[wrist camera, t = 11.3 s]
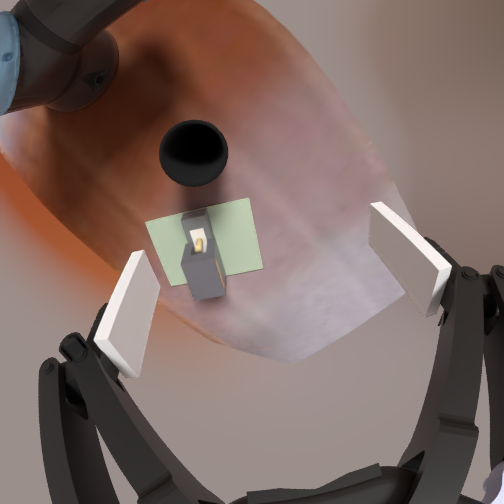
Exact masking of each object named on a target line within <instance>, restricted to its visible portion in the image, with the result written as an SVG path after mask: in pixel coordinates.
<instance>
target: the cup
mask: <svg viewBox="0 0 504 504" xmlns="http://www.w3.org/2000/svg"><path fill="white" fill-rule="evenodd" d="M159 158H160V163H161V166H162V168H163V170H164V171H165V173H166V174H167V175H168V176H169V177H170V178H171V179H172V180H173V181H175V182H177V183H178V184H181V185H184V186H192V187H196V186H202V185H205V184H208V183H210V182H211V181H213V180H214V179H216V178H217V177H218V176H219V175H220V174H221V173H222V171H223V169H224V168H225V166H226V163H227V159H228V146H227V142H226V140H225V138H224V136H223V134H222V133H221V132H220V131H219V130H218V129H217V128H216V127H215V125H213V124H211V123H209V122H206V121H202V120H188V121H183V122H181V123H179V124H177V125H175V126H174V127H172V128H171V129H170V130H169V131H168V132H167V133H166V135H165V136H164V138H163V140H162V142H161V144H160V150H159Z"/></svg>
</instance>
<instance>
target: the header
mask: <svg viewBox="0 0 504 504" xmlns="http://www.w3.org/2000/svg"><path fill="white" fill-rule="evenodd" d="M145 224H146V226H147V229H148V232H149V234H150V237H151V239H152V242H153V244H154V247H155V249H156V251H157V254H158V256H159V259H160V261H161V263H162V266H163V268H164V270H165V273H166V275H167V277H168V279H169V282H170V284H171V286H176V285H181V284H187V280H186V278H185V275H184V273H183V270H182V268H181V260H182V256H183V252H184V247H185V244H187V243H191V242H193V244H194V247H195V252H196V253H197V254H200V253H205V252H206V247H207V239H210V238H214V237H215V238H216V242H217V245H218V249H219V252H220V256H221V259H222V262H223V266H224V269H225V274H226V276H228V275H233V274H238V273H243V272H248V271H253V270H258V269H263V265H262V260H261V255H260V250H259V245H258V240H257V235H256V231H255V226H254V221H253V216H252V211H251V206H250V201H249V198H244V199H240V200H235V201H230V202H226V203H221V204H217V205H212V206H208V207H203V208H199V209H195V210H191V211H187V212H182V213H178V214H174V215H170V216H166V217H162V218H158V219H155V220H151V221H147V222H145Z"/></svg>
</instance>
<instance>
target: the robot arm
mask: <svg viewBox="0 0 504 504" xmlns="http://www.w3.org/2000/svg"><path fill="white" fill-rule="evenodd" d="M143 1H144V2H146V1H147V0H20V1H19V2H18V3H17V4H16V5H15V6H14V8H13V9H12V10H11V11H10V12H9V11H2V12H0V116H2V115H4V114H7V113H11V112H15V111H19V110H23V109H27V108H32V107H36V106H41V105H44V106H46V107H48V108H50V109H52V110H54V111H58V112H71V111H76V110H80V109H83V108H85V107H87V106H89V105H91V104H92V103H93V102H95V101H96V100H97V99H98V98H99V97H100V96H101V95H102V94H103V93H104V92H105V91H106V89H107V88H108V86H109V85H110V83H111V81H112V79H113V77H114V75H115V72H116V69H117V65H118V47H117V43H116V41H115V39H114V37H113V36H112V35H111V34H110V33H109V32H108V31H107V30H105V29H106V28H107V27H108V26H109V25H111V24H112V23H113V22H115V21H116V20H117V19H119V18H120V17H121V16H123V15H124V14H125V13H127V12H128V11H130V10H131V9H132V8H134V7H135V6H137V5H138V4H140V3H141V2H143ZM369 245H370V247H371V248H372V249H373V250H374V251H375V253H376V254H377V255H378V256H379V258H380V259H381V260H382V261H383V263H384V264H385V265H386V266H387V268H388V269H389V270H390V272H391V273H392V274H393V276H394V277H395V278H396V279H397V281H398V282H399V283H400V285H401V286H402V287H403V289H404V290H405V292H406V293H407V294H408V296H409V297H410V298H411V300H412V301H413V303H414V304H415V305H416V307H417V308H418V310H419V311H420V313H421V314H422V315H423V317H424V318H427V317H429V316H432V315H434V314H436V313H437V311H438V308H439V306H440V304H441V306H442V307H443V308H444V311H443V314H442V316H441V319H440V321H439V324H438V326H440V325H441V327H440V334H439V340H438V346H437V351H436V356H435V361H434V366H433V370H432V375H431V379H430V383H429V386H428V390H427V394H426V397H425V401H424V404H423V407H422V411H421V414H420V417H419V420H418V423H417V426H416V429H415V431H414V434H413V437H412V439H411V442H410V444H409V446H408V447H407V449H406V450H405V452H404V453H403V455H402V457H401V459H400V461H399V463H398V465H397V467H395V466H382V467H380V466H379V463H377V464H374V465H371V466H368V467H365V468H363V469H359V470H356V471H353V472H350V473H347V474H345V475H344V476H342V477H340V478H338V479H336V480H334V481H332V482H330V483H328V484H326V485H324V486H322V487H320V488H317V489H283V488H278V489H271V490H261V491H251V492H247V496H244V497H242V498H239V499H237V500H235V501H233V502H231V503H229V504H504V267H503V266H500V265H494V266H493V267H492V269H491V271H490V274H486V275H480V274H479V273H478V272H477V271H476V270H475V269H473V268H471V267H466V266H463V267H461V266H460V265H459V264H458V263H457V262H456V261H455V260H454V259H453V258H451V256H450V255H448V254H447V253H445V251H444V250H443V249H442V248H440V246H439V245H438V244H437V243H436V242H435V241H433V240H431V239H429V238H427V237H421V236H420V235H419V234H418V233H417V232H416V231H415V230H414V229H413V228H412V227H410V226H409V225H408V224H407V223H406V222H405V221H404V220H402V219H401V218H400V217H399V216H398V215H397V214H395V213H394V212H393V211H392V210H391V209H389V208H388V207H387V206H386V205H385V204H383V203H382V202H376V203H370V224H369ZM159 291H160V285H159V282H158V280H157V278H156V276H155V274H154V272H153V270H152V267H151V265H150V263H149V261H148V258H147V256H146V254H145V251H144V250H141V251H136V252H132V254H131V256H130V258H129V260H128V262H127V264H126V266H125V268H124V270H123V273H122V275H121V277H120V279H119V281H118V283H117V285H116V287H115V290H114V292H113V294H112V296H111V299H110V301H109V303H105V304H104V305H103V306H102V308H101V309H100V310H99V312H98V314H97V316H96V320H95V321H94V323H93V326H92V328H91V331H90V333H89V336H88V338H87V341H85V340H84V338H83V337H82V336H81V334H80V333H77V332H74V333H71V334H69V335H67V336H66V337H65V338H64V339H63V341H62V342H61V344H60V346H59V352H60V353H61V354H62V355H63V356H64V357H65V358H66V360H67V361H66V362H63V363H61V364H60V363H59V362H58V361H57V359H56V358H53V357H51V358H48V359H47V360H45V361H44V362H43V363H42V365H41V367H40V370H39V424H40V437H41V446H42V454H43V461H44V467H45V473H46V478H47V483H48V488H49V492H50V496H51V500H52V504H120V503H119V501H118V498H117V496H116V493H115V490H114V488H113V485H112V482H111V479H110V476H109V473H108V470H107V467H106V464H105V461H104V457H103V453H102V450H101V446H100V442H99V438H98V435H97V430H96V427H97V429H98V431H99V433H100V434H101V436H102V438H103V440H104V442H105V444H106V446H107V447H108V449H109V451H110V453H111V454H112V456H113V458H114V459H115V461H116V463H117V464H118V466H119V468H120V469H121V471H122V472H123V474H124V475H125V477H126V478H127V480H128V481H129V483H130V484H131V486H132V487H133V489H134V490H135V491H136V493H137V495H138V497H139V499H138V501H137V503H138V504H225V503H224V502H223V501H222V500H220V499H219V498H218V497H217V496H216V495H214V494H213V493H212V492H210V491H209V490H207V489H206V488H205V487H204V486H202V484H201V483H199V482H198V480H196V478H195V477H194V476H193V475H192V474H191V473H190V472H189V471H188V470H187V469H186V468H185V467H184V466H183V464H182V463H181V462H180V461H179V460H178V459H177V458H176V456H175V455H174V454H173V453H172V452H171V450H170V449H169V448H168V447H167V446H166V444H165V443H164V442H163V441H162V440H161V438H160V437H159V436H158V434H157V433H156V432H155V431H154V429H153V428H152V427H151V425H150V424H149V422H148V421H147V420H146V418H145V417H144V416H143V414H142V413H141V411H140V410H139V409H138V407H137V406H136V404H135V403H134V401H133V400H132V398H131V397H130V395H129V394H128V392H127V390H126V389H125V387H124V386H123V384H122V382H121V381H120V380H119V379H118V374H119V371H120V373H121V374H122V375H123V376H124V377H125V378H139V376H140V371H141V366H142V361H143V356H144V352H145V347H146V342H147V338H148V334H149V330H150V326H151V322H152V318H153V314H154V310H155V306H156V302H157V298H158V295H159ZM498 310H499V312H498ZM483 354H484V360H485V366H486V374H487V382H488V392H489V405H490V464H491V473H490V475H489V477H488V478H487V479H486V480H485V481H484V483H483V489H484V491H486V493H485V496H484V498H483V500H482V501H481V502H480V501H477V500H474V499H472V498H469V497H467V496H464V495H462V494H460V493H461V491H462V488H463V486H464V483H465V480H466V477H467V474H468V471H469V468H470V465H471V462H472V458H473V455H474V451H475V448H476V444H477V440H478V434H479V430H478V427H477V426H475V424H474V421H475V414H476V409H477V404H478V398H479V391H480V383H481V374H482V361H483ZM95 425H96V426H95Z"/></svg>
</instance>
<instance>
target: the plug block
mask: <svg viewBox="0 0 504 504" xmlns="http://www.w3.org/2000/svg"><path fill="white" fill-rule="evenodd" d="M181 268H182V270H183V273H184V275H185V278H186V280H187V283H188V285H189V287H190V290H191V292H192V295H193V297H194V299H195V301H196V300H202V299H208V298H213V297H219V296H224V295H226V274H225V269H224V266H223V262H222V259H221V256H220V252H219V249H218V245H217V242H216V238H215V237H214V238H210V239H207V247H206V252H205V253H200V254H197V253H196V252H195V247H194V244H193V242H191V243H187V244H185V247H184V252H183V256H182V260H181Z"/></svg>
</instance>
